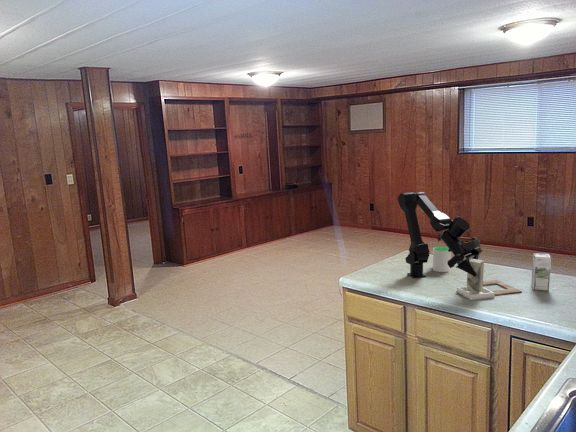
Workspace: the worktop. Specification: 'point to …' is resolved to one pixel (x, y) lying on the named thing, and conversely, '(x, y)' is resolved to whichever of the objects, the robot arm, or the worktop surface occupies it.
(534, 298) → the worktop surface
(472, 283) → the box
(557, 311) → the worktop surface
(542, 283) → the syrup box
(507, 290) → the walnut frame
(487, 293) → the white tray
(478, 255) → the robot arm
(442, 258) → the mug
